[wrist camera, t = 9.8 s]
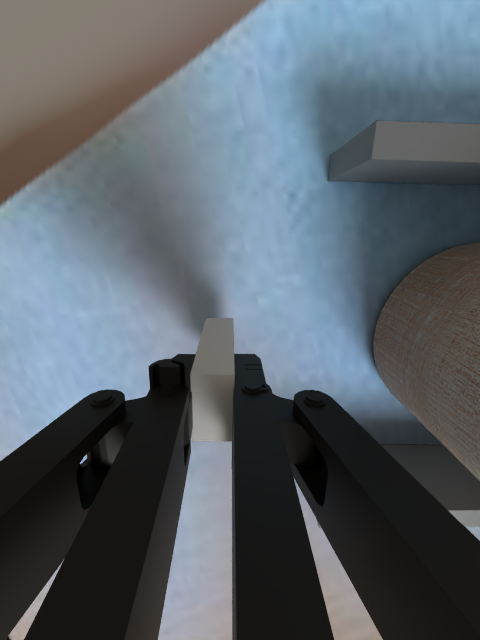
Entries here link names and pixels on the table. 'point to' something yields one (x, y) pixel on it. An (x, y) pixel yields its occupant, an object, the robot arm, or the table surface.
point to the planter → (437, 348)
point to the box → (420, 168)
